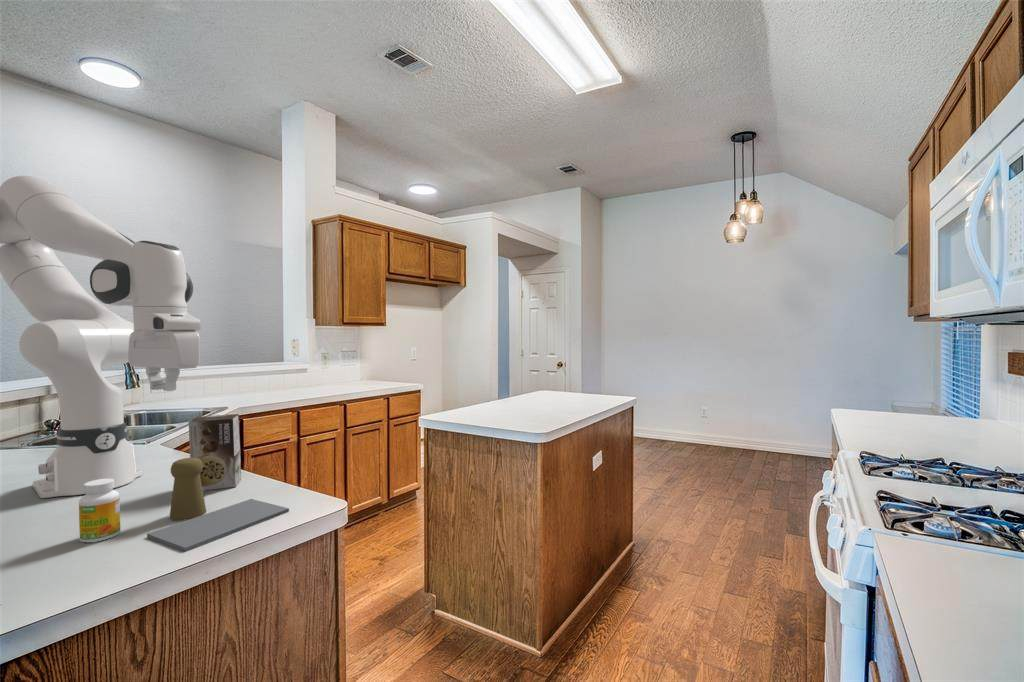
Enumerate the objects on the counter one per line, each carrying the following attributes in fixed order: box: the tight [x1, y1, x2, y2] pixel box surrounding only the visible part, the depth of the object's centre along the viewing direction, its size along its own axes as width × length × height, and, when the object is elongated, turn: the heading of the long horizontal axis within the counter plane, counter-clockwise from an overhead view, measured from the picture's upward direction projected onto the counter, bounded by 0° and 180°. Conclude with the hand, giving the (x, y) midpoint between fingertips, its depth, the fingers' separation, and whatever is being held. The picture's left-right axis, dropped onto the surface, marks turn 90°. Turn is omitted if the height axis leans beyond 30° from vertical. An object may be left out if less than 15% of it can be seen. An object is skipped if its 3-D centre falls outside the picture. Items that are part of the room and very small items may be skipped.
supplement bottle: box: [78, 479, 121, 544], centre depth 82 cm, size 5×5×10 cm
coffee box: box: [188, 413, 242, 491], centre depth 110 cm, size 9×6×16 cm
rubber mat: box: [146, 498, 290, 552], centre depth 88 cm, size 12×19×1 cm, turn 152°
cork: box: [168, 457, 207, 522], centre depth 92 cm, size 6×6×11 cm
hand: (163, 390), depth 95 cm, fingers open, 3 cm apart
